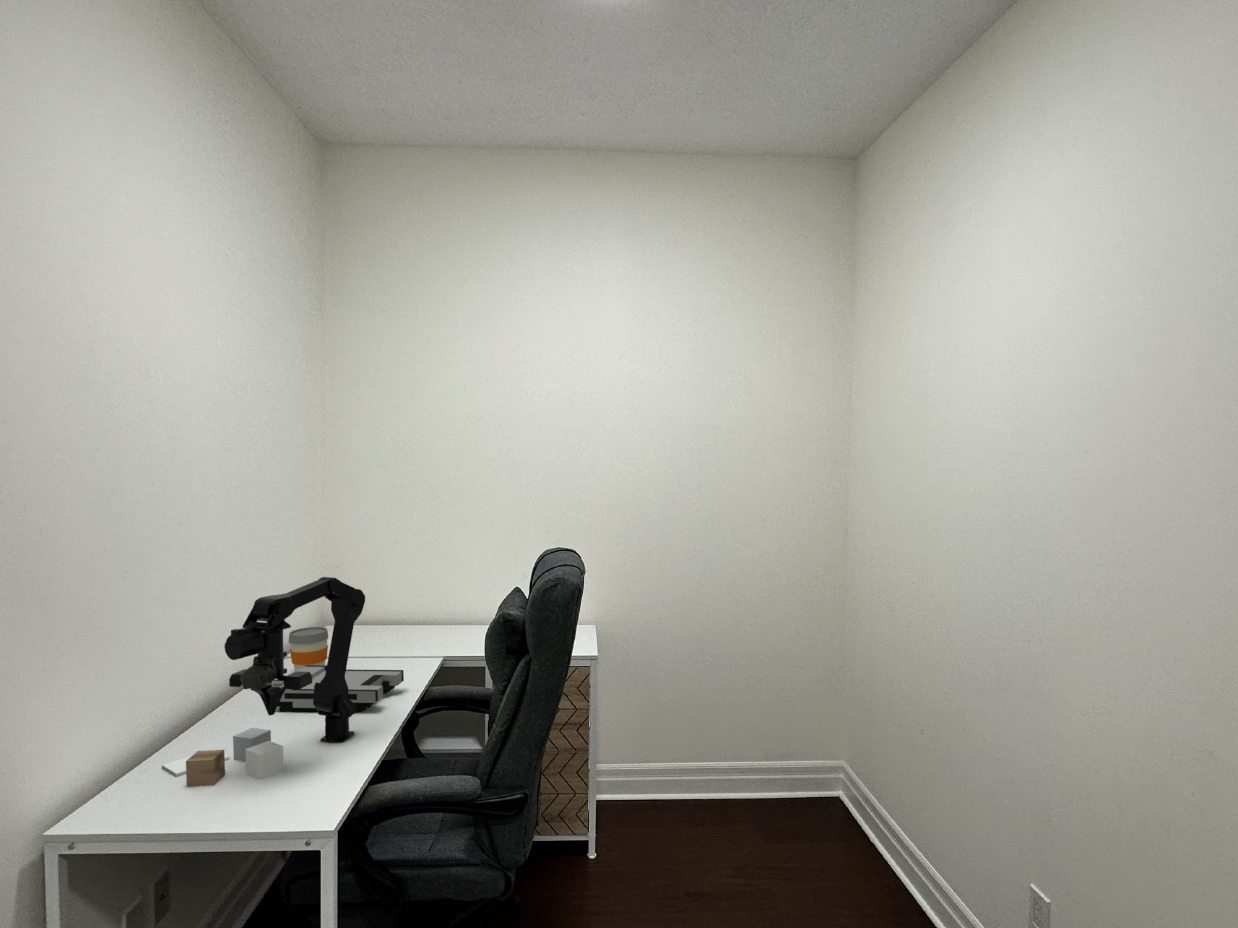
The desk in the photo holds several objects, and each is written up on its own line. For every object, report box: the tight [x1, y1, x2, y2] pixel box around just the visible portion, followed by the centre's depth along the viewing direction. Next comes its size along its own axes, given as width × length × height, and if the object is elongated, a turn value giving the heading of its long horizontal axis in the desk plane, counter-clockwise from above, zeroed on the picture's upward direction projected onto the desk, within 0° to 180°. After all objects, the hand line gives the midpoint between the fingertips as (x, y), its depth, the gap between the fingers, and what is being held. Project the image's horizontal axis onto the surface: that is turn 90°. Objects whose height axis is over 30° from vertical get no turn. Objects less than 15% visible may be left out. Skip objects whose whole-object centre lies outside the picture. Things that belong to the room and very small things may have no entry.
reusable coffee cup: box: [288, 626, 329, 672], centre depth 261 cm, size 13×12×15 cm
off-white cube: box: [245, 740, 285, 780], centre depth 183 cm, size 6×6×6 cm
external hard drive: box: [161, 748, 230, 778], centre depth 189 cm, size 2×8×12 cm
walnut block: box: [185, 749, 226, 788], centre depth 179 cm, size 6×6×6 cm
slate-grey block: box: [232, 727, 272, 763], centre depth 193 cm, size 6×6×6 cm
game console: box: [277, 664, 405, 714], centre depth 233 cm, size 21×32×8 cm, turn 84°
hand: (271, 714), depth 185 cm, fingers closed
